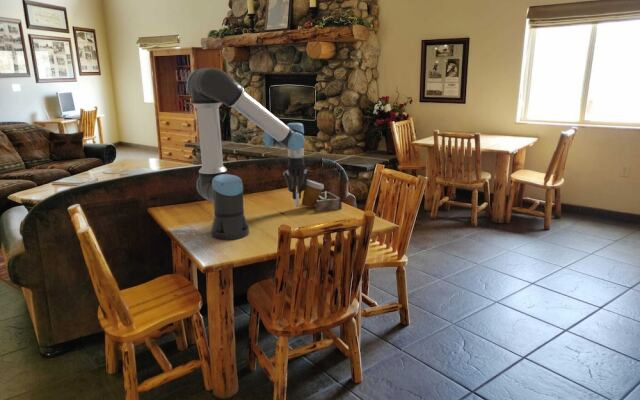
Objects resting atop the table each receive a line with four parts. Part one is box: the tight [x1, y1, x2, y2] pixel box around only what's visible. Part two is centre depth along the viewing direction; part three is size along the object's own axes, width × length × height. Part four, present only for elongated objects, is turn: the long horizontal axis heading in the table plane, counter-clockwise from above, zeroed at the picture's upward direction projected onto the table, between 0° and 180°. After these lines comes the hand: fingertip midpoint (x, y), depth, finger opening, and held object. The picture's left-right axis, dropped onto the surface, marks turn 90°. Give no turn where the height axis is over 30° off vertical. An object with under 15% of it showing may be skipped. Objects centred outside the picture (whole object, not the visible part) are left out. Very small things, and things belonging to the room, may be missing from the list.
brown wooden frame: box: [315, 191, 343, 213], centre depth 220 cm, size 12×16×5 cm
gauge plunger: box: [315, 190, 327, 206], centre depth 220 cm, size 6×11×9 cm, turn 22°
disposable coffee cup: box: [301, 179, 325, 209], centre depth 217 cm, size 10×10×12 cm
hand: (296, 205), depth 216 cm, fingers closed
